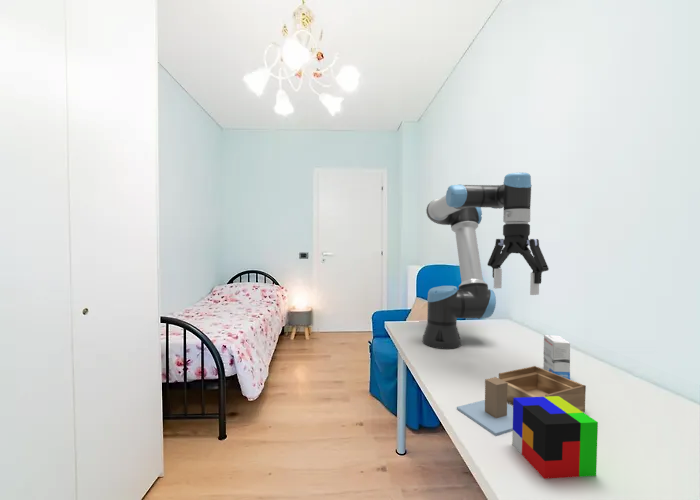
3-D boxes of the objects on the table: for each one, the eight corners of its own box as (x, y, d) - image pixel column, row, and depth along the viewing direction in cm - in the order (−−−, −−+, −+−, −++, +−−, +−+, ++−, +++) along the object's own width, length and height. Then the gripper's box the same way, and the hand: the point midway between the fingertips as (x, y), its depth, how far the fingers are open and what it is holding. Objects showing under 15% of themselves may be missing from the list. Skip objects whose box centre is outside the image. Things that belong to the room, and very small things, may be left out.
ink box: (570, 381, 101) (571, 342, 100) (552, 379, 102) (553, 341, 101) (558, 370, 109) (559, 335, 109) (542, 369, 110) (543, 334, 110)
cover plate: (456, 410, 84) (457, 375, 83) (495, 400, 89) (496, 367, 89) (495, 437, 72) (496, 397, 72) (537, 424, 77) (538, 386, 77)
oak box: (498, 396, 90) (498, 373, 90) (534, 388, 96) (534, 365, 96) (546, 423, 77) (547, 395, 77) (584, 411, 83) (585, 385, 83)
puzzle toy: (512, 444, 69) (513, 397, 69) (557, 442, 70) (558, 396, 70) (544, 479, 59) (545, 424, 59) (596, 476, 60) (597, 422, 60)
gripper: (477, 224, 113) (476, 286, 114) (545, 221, 90) (543, 298, 91) (493, 225, 116) (492, 285, 117) (563, 222, 93) (561, 296, 94)
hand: (514, 291), depth 104 cm, fingers open, 13 cm apart
